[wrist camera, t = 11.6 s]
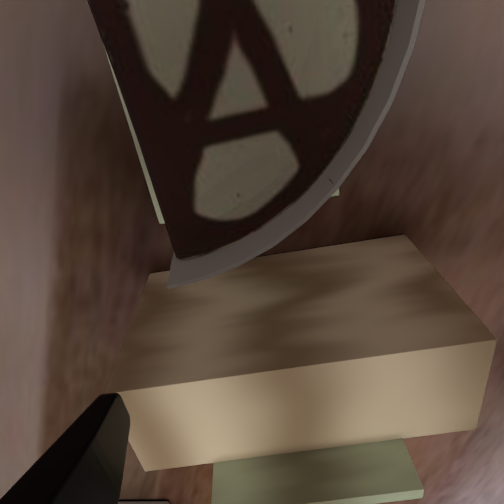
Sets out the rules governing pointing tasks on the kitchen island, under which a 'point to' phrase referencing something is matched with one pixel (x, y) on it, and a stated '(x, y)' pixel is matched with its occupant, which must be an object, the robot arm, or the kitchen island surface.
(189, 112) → the food container
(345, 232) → the kitchen island surface
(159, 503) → the coffee box
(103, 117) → the kitchen island surface
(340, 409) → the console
